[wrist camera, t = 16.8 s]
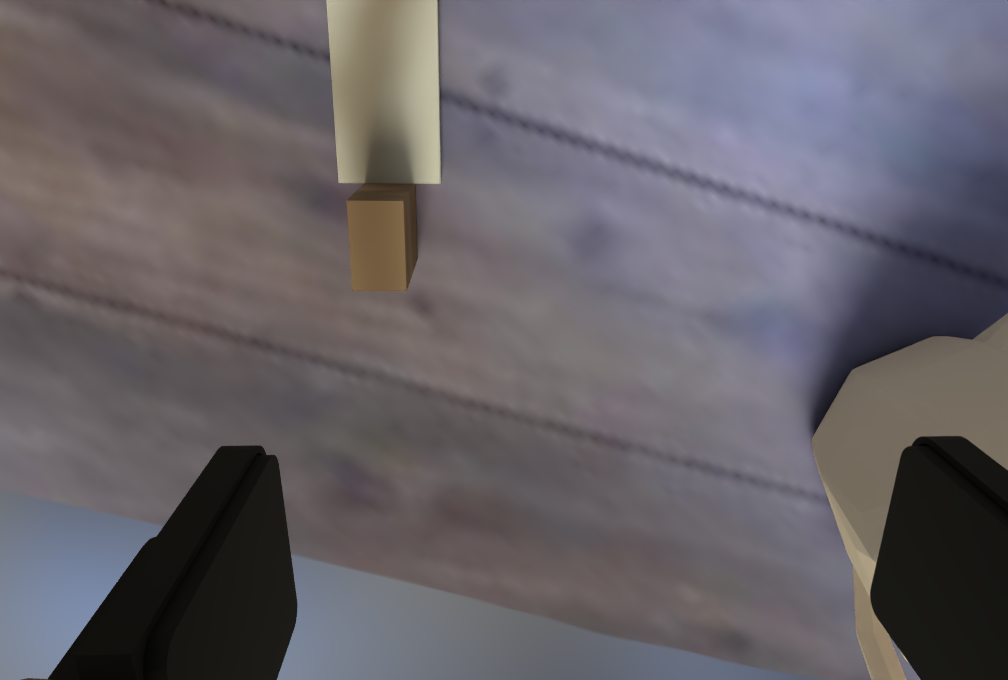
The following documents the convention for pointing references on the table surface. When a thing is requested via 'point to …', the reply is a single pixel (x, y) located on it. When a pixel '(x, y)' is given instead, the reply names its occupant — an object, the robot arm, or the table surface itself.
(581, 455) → the table surface
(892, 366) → the cream teapot
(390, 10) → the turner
